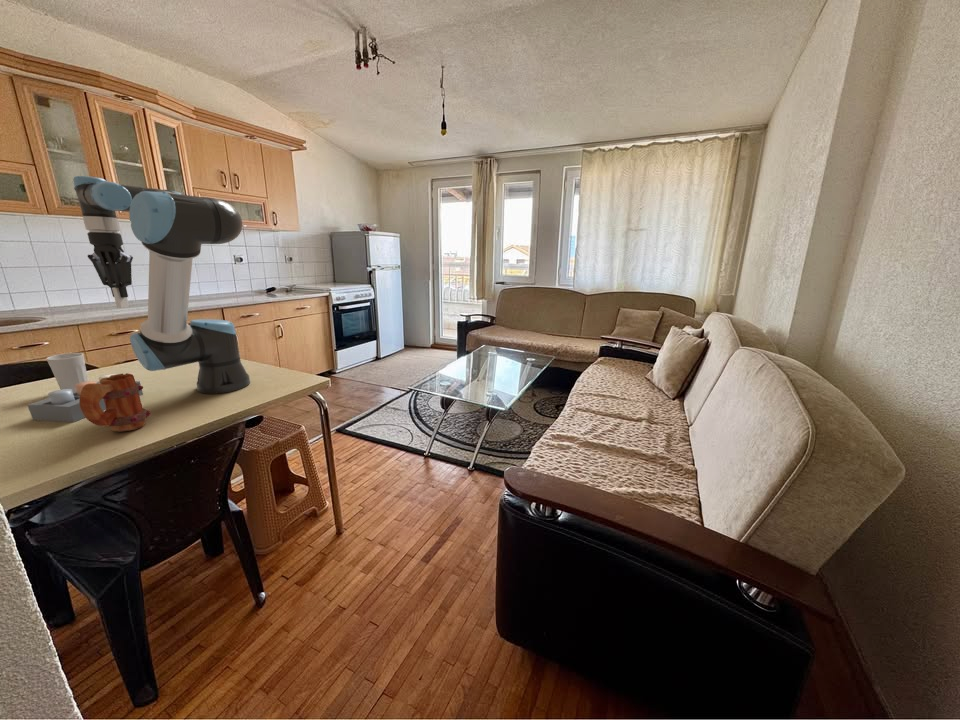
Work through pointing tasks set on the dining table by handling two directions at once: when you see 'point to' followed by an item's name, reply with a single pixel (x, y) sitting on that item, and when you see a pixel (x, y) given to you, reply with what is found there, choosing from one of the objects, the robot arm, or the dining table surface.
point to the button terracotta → (81, 385)
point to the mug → (114, 403)
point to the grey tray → (61, 409)
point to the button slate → (61, 396)
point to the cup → (68, 369)
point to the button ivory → (106, 376)
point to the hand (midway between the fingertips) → (123, 307)
